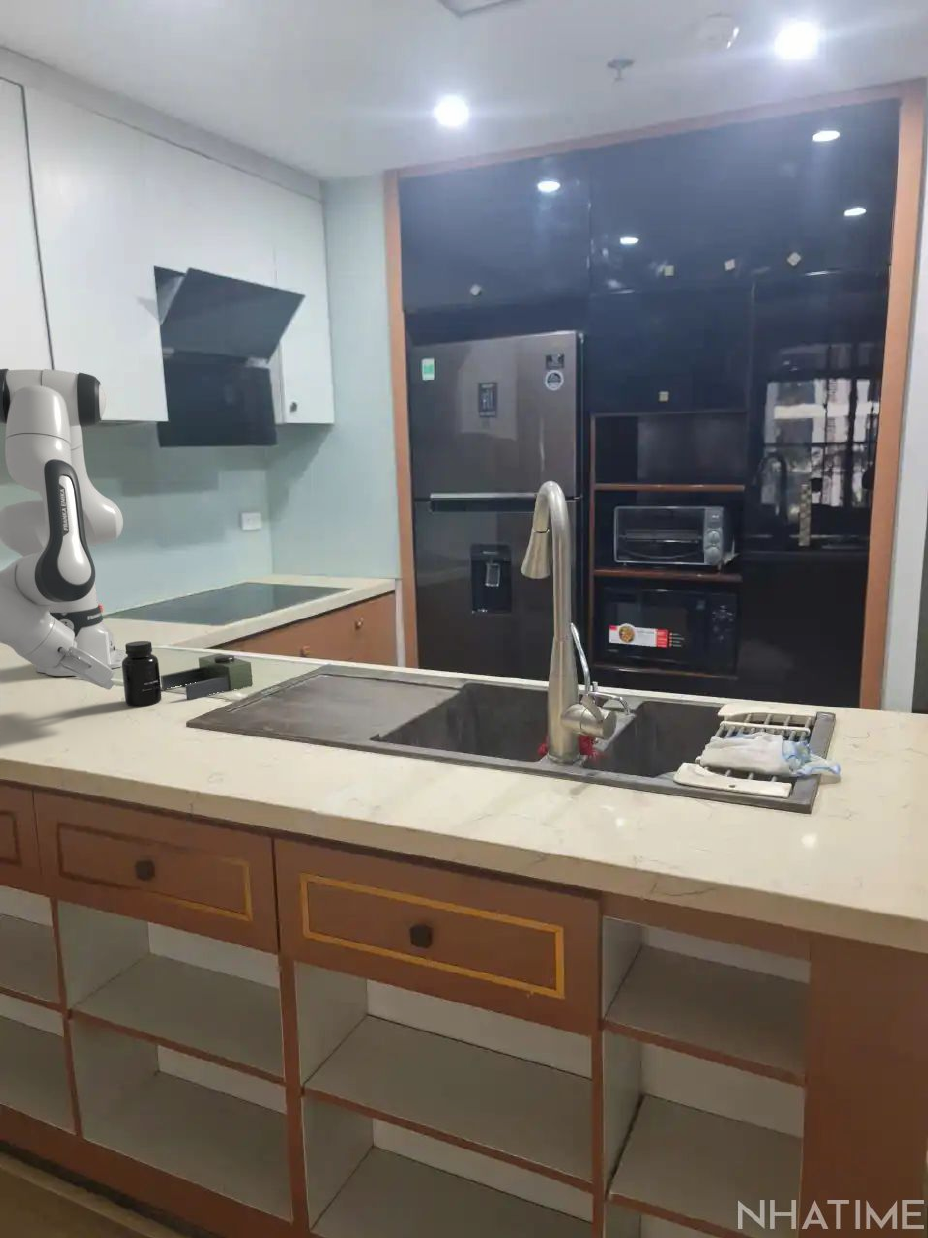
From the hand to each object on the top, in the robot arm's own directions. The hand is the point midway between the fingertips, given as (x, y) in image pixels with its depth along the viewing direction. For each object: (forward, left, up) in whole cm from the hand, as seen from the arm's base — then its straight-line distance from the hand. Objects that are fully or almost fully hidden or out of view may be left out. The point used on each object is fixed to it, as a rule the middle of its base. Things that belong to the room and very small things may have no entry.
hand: (109, 685), depth 169 cm
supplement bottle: (-4, +5, -5) cm, 8 cm away
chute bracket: (-12, +16, -5) cm, 20 cm away
